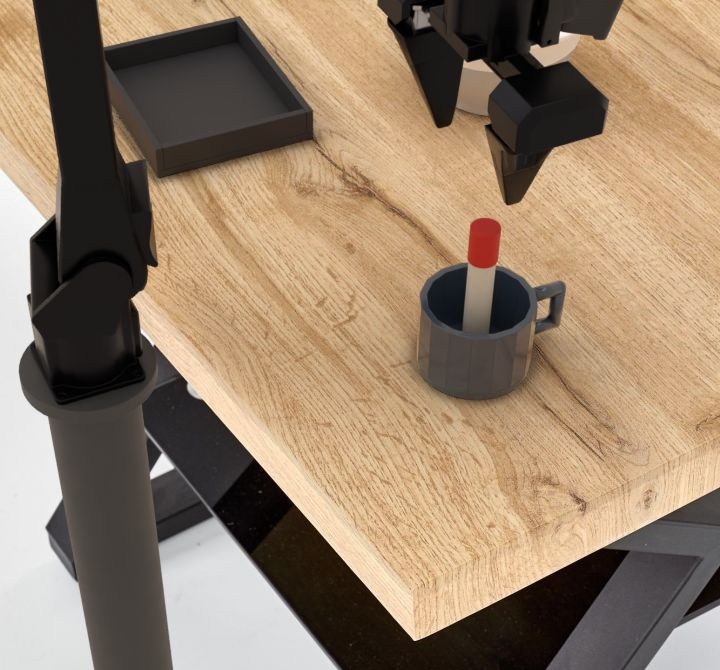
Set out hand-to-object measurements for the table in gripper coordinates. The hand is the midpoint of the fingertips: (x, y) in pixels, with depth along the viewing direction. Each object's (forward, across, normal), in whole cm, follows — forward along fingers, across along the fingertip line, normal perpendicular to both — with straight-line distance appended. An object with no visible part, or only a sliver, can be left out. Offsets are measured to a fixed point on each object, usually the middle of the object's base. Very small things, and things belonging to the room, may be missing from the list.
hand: (476, 163), depth 102 cm
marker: (+12, -4, +2) cm, 13 cm away
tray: (+13, +32, +7) cm, 35 cm away
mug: (+13, -4, 0) cm, 14 cm away
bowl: (+13, +24, -16) cm, 32 cm away
